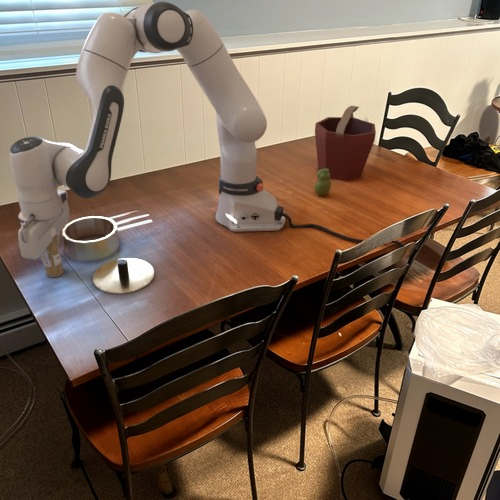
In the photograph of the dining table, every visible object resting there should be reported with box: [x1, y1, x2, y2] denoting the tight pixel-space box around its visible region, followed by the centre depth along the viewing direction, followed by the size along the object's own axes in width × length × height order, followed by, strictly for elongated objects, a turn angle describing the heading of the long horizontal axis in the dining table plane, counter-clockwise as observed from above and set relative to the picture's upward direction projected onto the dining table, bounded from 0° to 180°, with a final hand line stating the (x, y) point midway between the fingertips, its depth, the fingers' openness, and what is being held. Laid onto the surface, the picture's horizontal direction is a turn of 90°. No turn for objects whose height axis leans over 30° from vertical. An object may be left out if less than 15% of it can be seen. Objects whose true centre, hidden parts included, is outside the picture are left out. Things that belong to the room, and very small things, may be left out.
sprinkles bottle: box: [42, 227, 65, 278], centre depth 124 cm, size 5×5×14 cm
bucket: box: [314, 105, 377, 182], centre depth 185 cm, size 24×22×25 cm
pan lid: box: [92, 257, 155, 295], centre depth 126 cm, size 16×16×5 cm
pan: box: [61, 215, 121, 262], centre depth 137 cm, size 15×15×6 cm
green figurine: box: [314, 168, 332, 197], centre depth 171 cm, size 6×5×10 cm
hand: (51, 254), depth 124 cm, fingers closed on sprinkles bottle, 4 cm apart
